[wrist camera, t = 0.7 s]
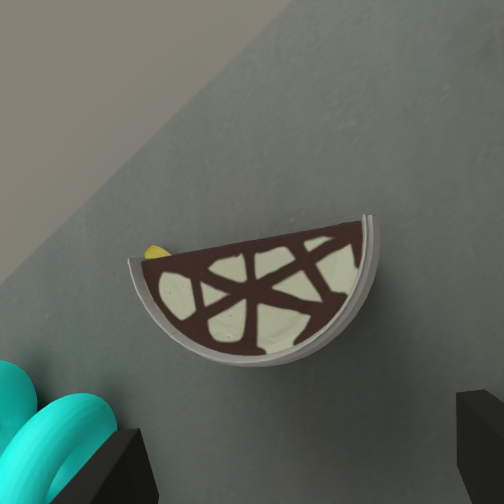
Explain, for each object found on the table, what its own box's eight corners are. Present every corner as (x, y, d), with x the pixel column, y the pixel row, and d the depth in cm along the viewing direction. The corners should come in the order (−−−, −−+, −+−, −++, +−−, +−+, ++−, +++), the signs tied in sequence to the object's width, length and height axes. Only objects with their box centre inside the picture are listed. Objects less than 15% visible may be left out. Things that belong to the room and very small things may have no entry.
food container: (210, 351, 32) (134, 388, 22) (197, 262, 32) (117, 260, 22) (398, 329, 28) (404, 361, 19) (380, 230, 29) (378, 211, 19)
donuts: (26, 343, 36) (-106, 372, 26) (138, 385, 33) (38, 433, 23) (-2, 467, 36) (-142, 540, 27) (107, 518, 33) (-5, 620, 24)
